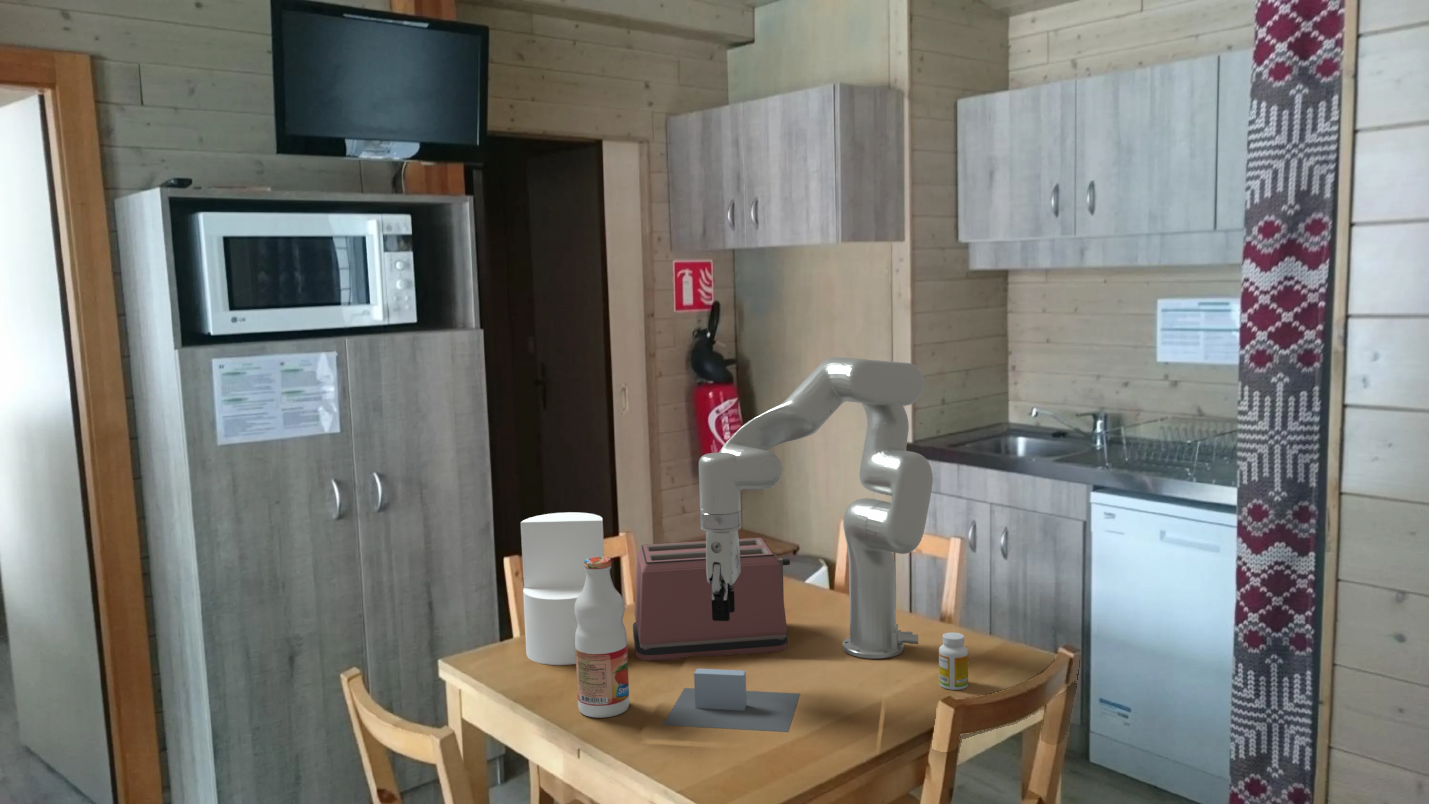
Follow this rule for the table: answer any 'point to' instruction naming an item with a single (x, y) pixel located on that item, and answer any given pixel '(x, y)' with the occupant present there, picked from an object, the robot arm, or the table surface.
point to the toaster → (706, 603)
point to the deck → (720, 689)
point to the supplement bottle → (953, 662)
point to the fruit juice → (601, 644)
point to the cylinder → (556, 580)
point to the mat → (737, 712)
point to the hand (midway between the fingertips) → (723, 615)
